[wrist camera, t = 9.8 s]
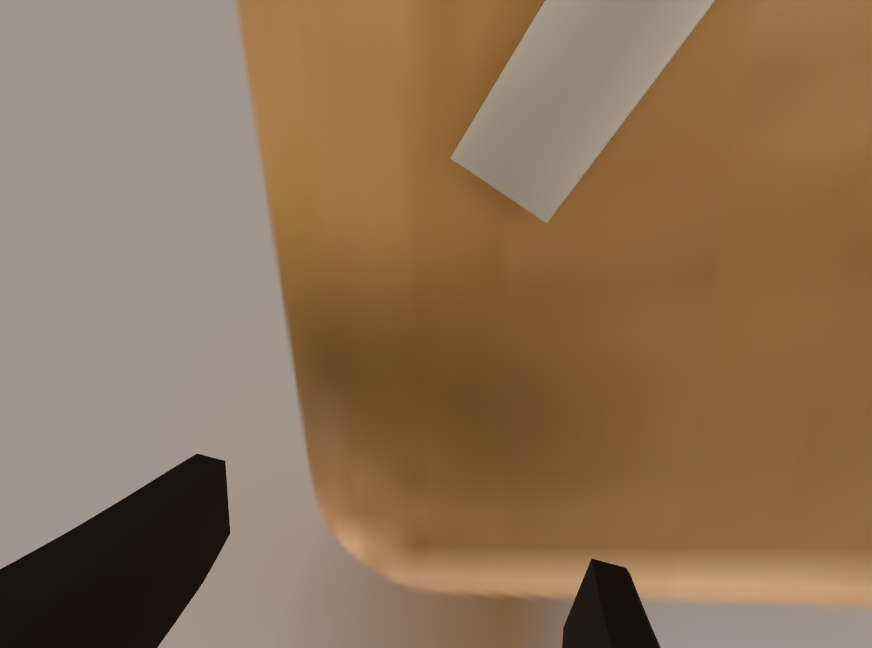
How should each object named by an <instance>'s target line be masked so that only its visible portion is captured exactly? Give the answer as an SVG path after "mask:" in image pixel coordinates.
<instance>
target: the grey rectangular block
mask: <svg viewBox="0 0 872 648" xmlns="http://www.w3.org/2000/svg"><path fill="white" fill-rule="evenodd" d="M714 1H715V0H545V2H544V3H543V5H542V7H541V8H540V10H539V12H538V13H537V15H536V17H535V18H534V20H533V22H532V23H531V25H530V27H529V28H528V30H527V32H526V33H525V35H524V37H523V38H522V40H521V42H520V43H519V45H518V46H517V48H516V50H515V51H514V53H513V55H512V56H511V58H510V60H509V61H508V63H507V65H506V66H505V68H504V70H503V71H502V73H501V75H500V76H499V78H498V80H497V81H496V83H495V85H494V86H493V88H492V90H491V91H490V93H489V95H488V96H487V98H486V100H485V101H484V103H483V105H482V106H481V108H480V110H479V111H478V113H477V115H476V116H475V118H474V120H473V121H472V123H471V125H470V126H469V128H468V130H467V131H466V133H465V135H464V136H463V138H462V140H461V141H460V143H459V145H458V146H457V148H456V150H455V151H454V153H453V155H452V156H451V159H452V160H454V161H455V162H457V163H458V164H460V165H461V166H463V167H464V168H465V169H467V170H468V171H470V172H471V173H473V174H474V175H476V176H477V177H479V178H480V179H482V180H483V181H485V182H486V183H488V184H489V185H491V186H492V187H493V188H495V189H496V190H498V191H499V192H501V193H502V194H504V195H505V196H507V197H508V198H510V199H511V200H513V201H514V202H516V203H517V204H519V205H520V206H521V207H523V208H524V209H526V210H527V211H529V212H530V213H532V214H533V215H535V216H536V217H538V218H539V219H541V220H542V221H544V222H545V223H548V221H549V220H550V219H551V217H552V216H553V215H554V213H555V212H556V211H557V209H558V208H559V207H560V205H561V204H562V203H563V201H564V200H565V199H566V197H567V196H568V195H569V193H570V192H571V191H572V189H573V188H574V187H575V185H576V184H577V183H578V181H579V180H580V179H581V177H582V176H583V175H584V174H585V172H586V171H587V170H588V168H589V167H590V166H591V164H592V163H593V162H594V160H595V159H596V158H597V156H598V155H599V154H600V152H601V151H602V150H603V148H604V147H605V146H606V144H607V143H608V142H609V140H610V139H611V138H612V136H613V135H614V134H615V132H616V131H617V130H618V128H619V127H620V126H621V124H622V123H623V122H624V120H625V119H626V118H627V116H628V115H629V114H630V112H631V111H632V110H633V108H634V107H635V106H636V104H637V103H638V102H639V100H640V99H641V98H642V97H643V95H644V94H645V93H646V91H647V90H648V89H649V87H650V86H651V85H652V83H653V82H654V81H655V79H656V78H657V77H658V75H659V74H660V73H661V71H662V70H663V69H664V67H665V66H666V65H667V63H668V62H669V61H670V59H671V58H672V57H673V55H674V54H675V53H676V51H677V50H678V49H679V47H680V46H681V45H682V43H683V42H684V41H685V39H686V38H687V37H688V35H689V34H690V33H691V31H692V30H693V29H694V27H695V26H696V25H697V23H698V22H699V21H700V19H701V18H702V17H703V16H704V14H705V13H706V12H707V10H708V9H709V8H710V6H711V5H712V4H713V2H714Z"/></svg>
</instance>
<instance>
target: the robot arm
mask: <svg viewBox="0 0 872 648" xmlns="http://www.w3.org/2000/svg"><path fill="white" fill-rule="evenodd" d="M229 534H230V525H229V510H228V497H227V481H226V467H225V461H223V460H218V459H215V458H211V457H208V456H204V455H200V454H196V455H194V456H192V457H191V458H189V459H187V460H186V461H184V462H182V463H181V464H179V465H178V466H176V467H174V468H173V469H171V470H169V471H168V472H166V473H165V474H163V475H161V476H160V477H158V478H156V479H155V480H153V481H152V482H150V483H148V484H147V485H145V486H144V487H142V488H140V489H139V490H137V491H136V492H134V493H132V494H131V495H129V496H128V497H126V498H124V499H123V500H121V501H119V502H118V503H116V504H114V505H113V506H111V507H109V508H108V509H106V510H104V511H103V512H101V513H99V514H98V515H96V516H94V517H93V518H91V519H89V520H88V521H86V522H84V523H83V524H81V525H79V526H78V527H76V528H74V529H72V530H71V531H69V532H67V533H65V534H64V535H62V536H60V537H58V538H56V539H55V540H53V541H51V542H50V543H48V544H46V545H44V546H42V547H40V548H38V549H37V550H35V551H33V552H31V553H29V554H28V555H26V556H24V557H22V558H21V559H19V560H17V561H15V562H13V563H11V564H9V565H8V566H6V567H4V568H2V569H0V648H157V647H158V646H159V644H160V643H161V641H162V640H163V639H164V637H165V636H166V634H167V633H168V632H169V630H170V629H171V627H172V626H173V625H174V623H175V622H176V620H177V619H178V617H179V616H180V615H181V613H182V612H183V610H184V609H185V607H186V606H187V605H188V603H189V602H190V600H191V599H192V598H193V596H194V595H195V593H196V591H197V590H198V589H199V587H200V586H201V584H202V583H203V581H204V580H205V578H206V576H207V574H208V572H209V571H210V569H211V567H212V565H213V564H214V562H215V560H216V558H217V556H218V554H219V553H220V551H221V549H222V547H223V545H224V543H225V542H226V540H227V538H228V536H229ZM562 648H660V646H659V643H658V641H657V639H656V636H655V634H654V632H653V630H652V627H651V625H650V622H649V620H648V618H647V615H646V613H645V611H644V608H643V606H642V603H641V601H640V598H639V596H638V593H637V591H636V588H635V586H634V583H633V581H632V578H631V575H630V573H629V572H628V570H627V569H626V568H624V567H621V566H617V565H613V564H609V563H606V562H602V561H598V560H594V559H591V562H590V564H589V567H588V569H587V571H586V574H585V576H584V579H583V581H582V584H581V586H580V589H579V591H578V594H577V596H576V598H575V601H574V603H573V606H572V608H571V611H570V613H569V616H568V618H567V621H566V623H565V625H564V629H563V646H562Z"/></svg>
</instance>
